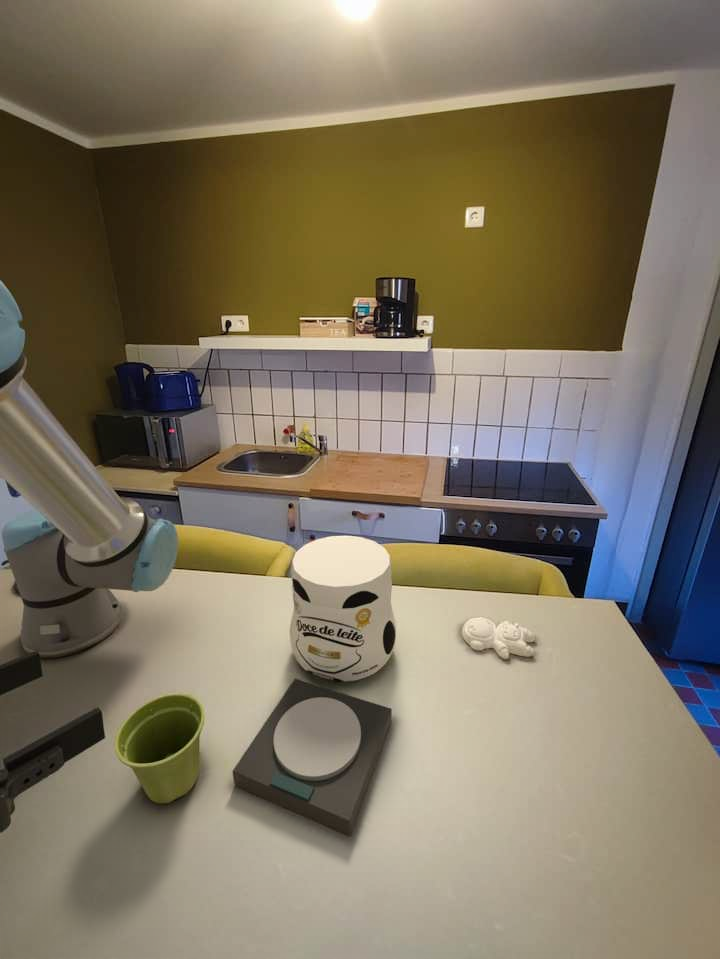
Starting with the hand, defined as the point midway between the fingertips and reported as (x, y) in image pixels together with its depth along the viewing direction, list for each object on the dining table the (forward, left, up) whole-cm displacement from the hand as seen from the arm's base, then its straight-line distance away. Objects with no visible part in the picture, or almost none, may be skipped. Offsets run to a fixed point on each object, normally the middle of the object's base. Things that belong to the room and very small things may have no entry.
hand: (68, 689), depth 41 cm
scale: (+18, +16, -19) cm, 31 cm away
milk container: (+14, +33, -20) cm, 41 cm away
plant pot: (+3, +6, -20) cm, 21 cm away
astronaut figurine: (+38, +45, -20) cm, 62 cm away
